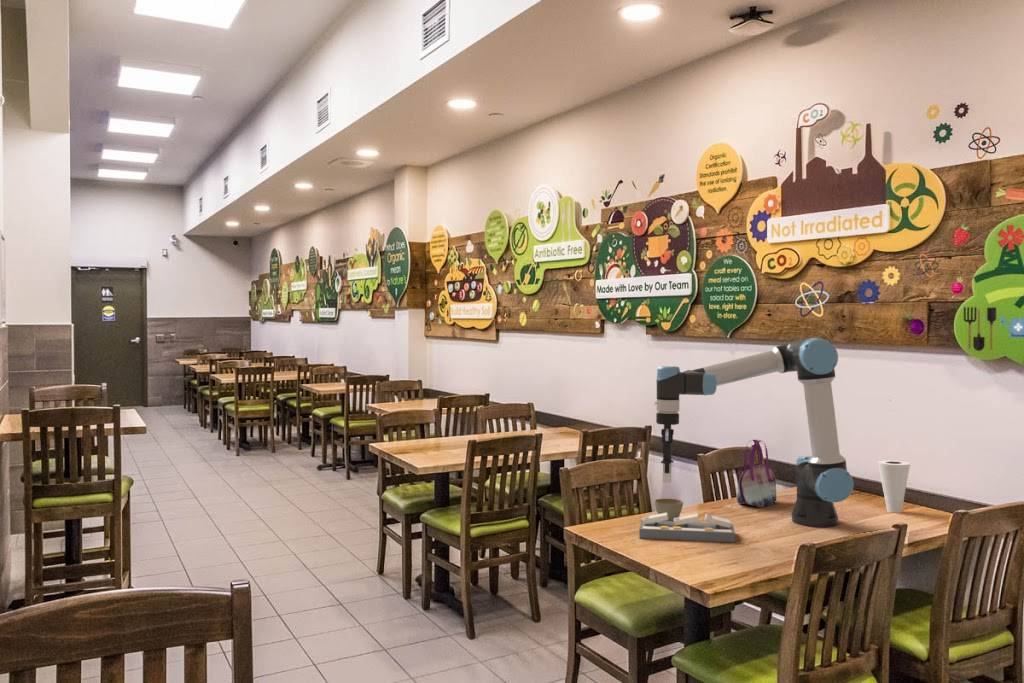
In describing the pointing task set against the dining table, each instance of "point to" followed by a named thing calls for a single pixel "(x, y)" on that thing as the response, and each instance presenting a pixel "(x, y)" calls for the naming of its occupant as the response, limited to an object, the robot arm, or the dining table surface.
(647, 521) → the rocker
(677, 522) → the rocker
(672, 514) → the flower pot
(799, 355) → the robot arm
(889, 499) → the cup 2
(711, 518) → the rocker
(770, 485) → the handbag
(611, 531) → the dining table surface
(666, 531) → the switch unit
